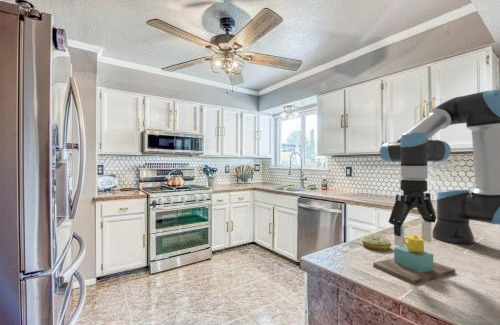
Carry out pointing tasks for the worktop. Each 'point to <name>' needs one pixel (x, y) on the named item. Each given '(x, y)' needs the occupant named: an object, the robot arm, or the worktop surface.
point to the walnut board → (413, 271)
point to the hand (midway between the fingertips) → (413, 243)
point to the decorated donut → (376, 243)
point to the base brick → (413, 259)
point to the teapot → (414, 244)
